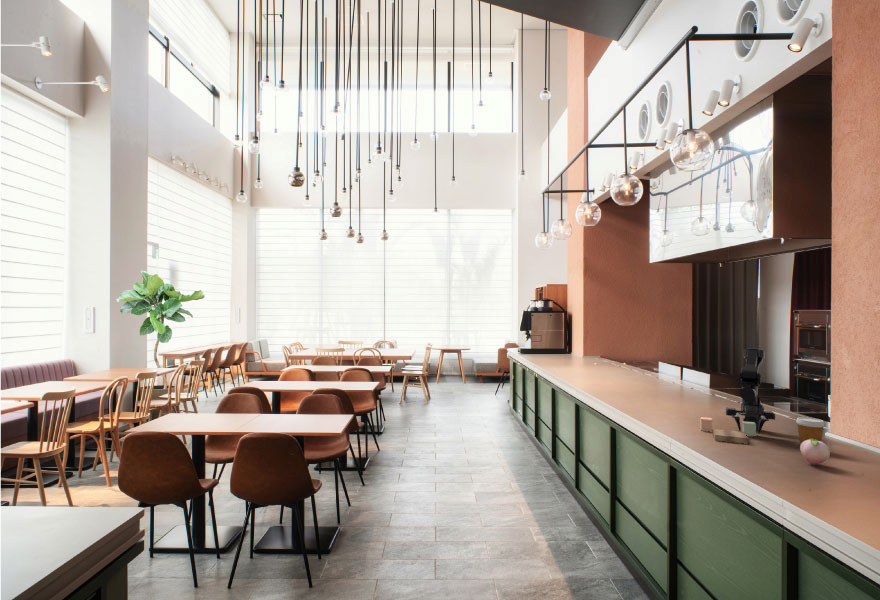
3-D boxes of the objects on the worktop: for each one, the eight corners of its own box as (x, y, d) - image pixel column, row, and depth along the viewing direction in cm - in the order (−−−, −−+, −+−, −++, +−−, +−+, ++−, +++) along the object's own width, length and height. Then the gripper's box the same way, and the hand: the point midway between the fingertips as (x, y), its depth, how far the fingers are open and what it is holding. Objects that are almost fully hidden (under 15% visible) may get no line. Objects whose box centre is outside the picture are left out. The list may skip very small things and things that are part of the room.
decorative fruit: (833, 470, 176) (834, 441, 176) (806, 467, 179) (806, 439, 179) (823, 462, 185) (824, 435, 185) (797, 460, 188) (797, 433, 188)
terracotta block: (711, 429, 234) (711, 418, 234) (712, 432, 230) (712, 419, 230) (700, 428, 236) (700, 417, 236) (701, 430, 232) (701, 418, 232)
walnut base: (743, 437, 220) (743, 431, 220) (747, 444, 209) (748, 438, 209) (712, 434, 225) (712, 428, 225) (715, 440, 214) (715, 434, 214)
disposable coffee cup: (817, 453, 197) (817, 423, 197) (790, 447, 205) (790, 418, 205) (830, 451, 201) (830, 420, 201) (803, 445, 209) (803, 416, 210)
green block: (754, 434, 226) (754, 422, 227) (755, 436, 222) (756, 424, 222) (742, 433, 228) (742, 421, 228) (744, 435, 224) (744, 423, 224)
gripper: (727, 398, 222) (727, 434, 222) (777, 402, 215) (777, 439, 214) (724, 394, 232) (724, 428, 232) (772, 398, 225) (772, 433, 224)
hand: (749, 432), depth 225 cm, fingers open, 7 cm apart
